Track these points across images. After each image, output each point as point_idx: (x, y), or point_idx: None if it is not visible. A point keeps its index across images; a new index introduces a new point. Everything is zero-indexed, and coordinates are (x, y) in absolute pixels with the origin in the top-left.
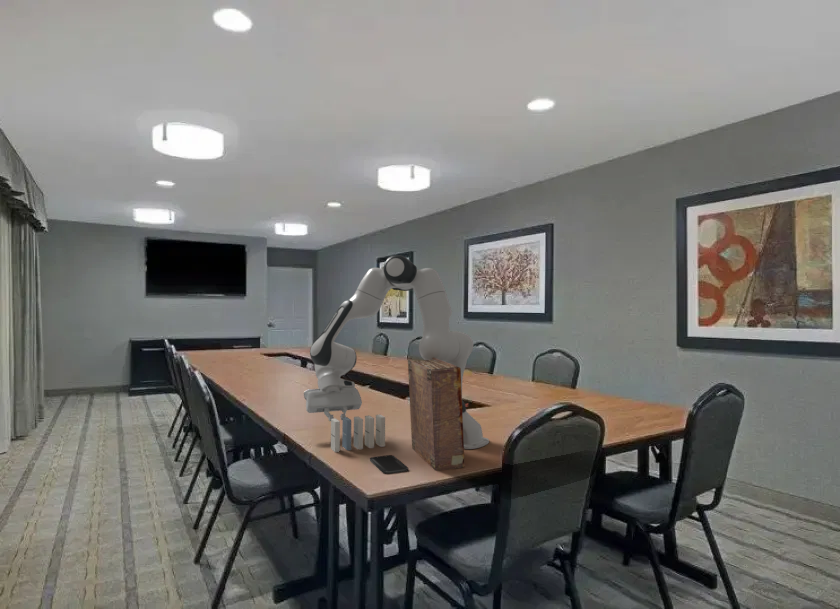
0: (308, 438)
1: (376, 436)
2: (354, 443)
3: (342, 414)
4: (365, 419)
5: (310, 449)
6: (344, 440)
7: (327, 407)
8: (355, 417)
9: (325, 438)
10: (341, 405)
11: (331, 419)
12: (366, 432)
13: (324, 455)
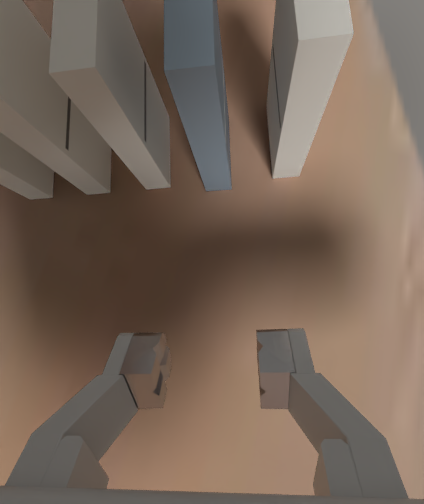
0: (408, 477)
1: (26, 166)
2: (166, 167)
3: (140, 365)
4: (9, 89)
5: (416, 195)
6: (227, 127)
7: (360, 499)
8: (92, 31)
9: (288, 423)
10: (80, 493)
11: (349, 19)
12: (72, 126)
13: (352, 69)
